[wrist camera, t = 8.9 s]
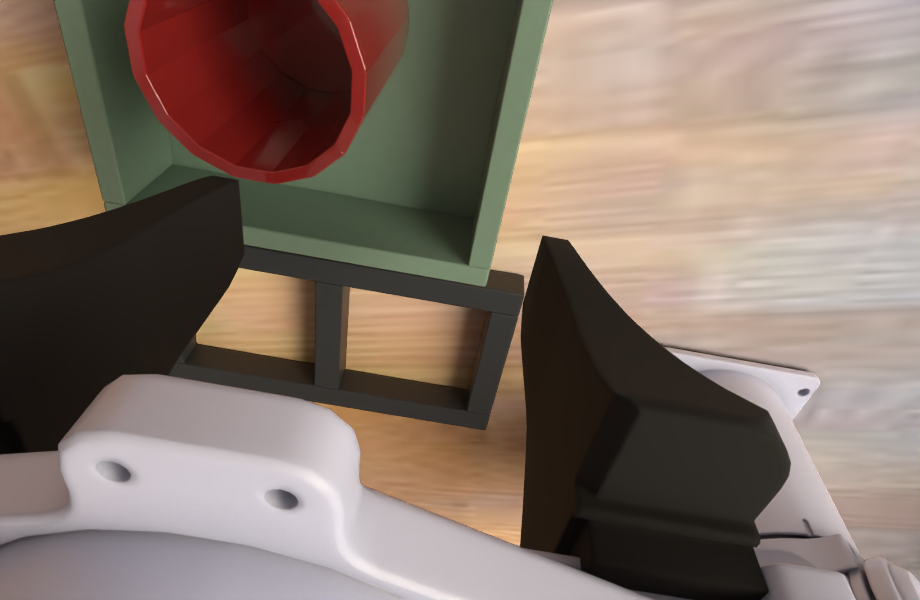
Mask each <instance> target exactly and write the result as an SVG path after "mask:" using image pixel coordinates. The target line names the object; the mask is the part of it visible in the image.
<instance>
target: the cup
mask: <svg viewBox="0 0 920 600" xmlns="http://www.w3.org/2000/svg"><path fill="white" fill-rule="evenodd" d="M124 25H125V26H124V30H125V35H126V41H127V46H128V52H129V57H130V63H131V68H132V73H133V75H134V78H135V80H136V82H137V84H138V86H139V87H140V89H141V91H142V93H143V95H144V96H145V98H146V100H147V102H148V104H149V106H150V107H151V109H152V111H153V113H154V115H155V116H156V118H157V119H159V120H158V121H159V122H160V123H161V124H162V125H163V126H164V127H165V128H166V129H167V130H168V131H169V132H170V133H171V134H172V135H173V136H174V137H175V138H176V139H177V140H178V141H179V142H180V143H181V144H182V145H183V146H184V147H185V148H186V149H187V150H188V151H189V152H190V153H191V154H193V155H194V156H195V157H197V158H199V159H201V160H203V161H205V162H207V163H208V164H210V165H212V166H214V167H216V168H218V169H220V170H221V171H223V172H225V173H227V174H229V175H231V176H234V177H236V178H242V179H247V180H253V181H258V182H264V183H269V184H281V183H286V182H291V181H296V180H301V179H306V178H311V177H314V176H316V175H318V174H319V173H320V172H322V171H323V170H324V169H326V168H327V167H328V166H330V165H331V164H333V163H334V162H335V161H337V160H338V159H339V158H341V157H342V156H343V155H344V154H345V153H346V152H347V150H348V149H349V147H350V145H351V144H352V142H353V140H354V139H355V137H356V135H357V134H358V132H359V130H360V129H361V127H362V125H363V123H364V122H365V120H366V118H367V117H368V115H369V113H370V112H371V110H372V108H373V107H374V105H375V103H376V102H377V100H378V98H379V97H380V95H381V93H382V92H383V90H384V88H385V87H386V85H387V83H388V82H389V80H390V78H391V76H392V74H393V73H394V71H395V69H396V67H397V65H398V63H399V62H400V60H401V57H402V55H403V54H404V51H405V47H406V43H407V39H408V33H409V6H408V1H407V0H129V4H128V8H127V13H126V17H125V22H124Z"/></svg>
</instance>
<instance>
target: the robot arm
mask: <svg viewBox="0 0 920 600" xmlns="http://www.w3.org/2000/svg"><path fill="white" fill-rule="evenodd" d="M244 254H245V251H244V239H243V226H242V214H241V202H240V189H239V180H236V179H230V178H225V177H219V176H214V175H212V176H208V177H204V178H200V179H197V180H194V181H191V182H188V183H186V184H183V185H180V186H177V187H175V188H172V189H169V190H167V191H164V192H161V193H159V194H156V195H153V196H150V197H148V198H145V199H142V200H140V201H137V202H134V203H131V204H128V205H125V206H122V207H118V208H115V209H112V210H109V211H106V212H103V213H100V214H97V215H94V216H90V217H87V218H83V219H79V220H76V221H72V222H67V223H63V224H59V225H55V226H51V227H46V228H41V229H36V230H30V231H24V232H19V233H13V234H7V235H1V236H0V600H920V583H919V582H918V580H917V579H916V578H915V577H914V575H913V574H912V573H911V572H910V571H908V570H906V569H904V568H902V567H900V566H897V565H895V564H891V563H890V562H889V561H888V560H887V559H885V558H883V557H874V558H870V559H867V560H864V559H863V558H862V557H861V556H860V554H859V552H858V550H857V548H856V546H855V544H854V542H853V540H852V538H851V536H850V534H849V532H848V530H847V528H846V526H845V524H844V522H843V520H842V518H841V516H840V514H839V512H838V510H837V508H836V507H835V505H834V503H833V501H832V499H831V497H830V495H829V493H828V491H827V489H826V487H825V485H824V483H823V481H822V479H821V477H820V475H819V473H818V471H817V469H816V467H815V465H814V463H813V461H812V459H811V457H810V455H809V453H808V451H807V449H806V447H805V445H804V443H803V441H802V439H801V437H800V435H799V434H798V432H797V430H796V428H795V426H794V424H793V422H792V420H793V419H794V417H795V416H796V415H797V413H798V412H799V411H800V410H801V408H802V407H803V406H804V404H805V403H806V402H807V401H808V399H809V398H810V397H811V395H812V394H813V393H814V392H815V390H816V389H817V388H818V387H819V385H820V380H819V378H818V376H817V375H816V374H815V373H812V372H806V371H801V370H795V369H789V368H783V367H778V366H772V365H766V364H760V363H755V362H749V361H743V360H737V359H732V358H726V357H720V356H714V355H709V354H703V353H697V352H692V351H686V350H680V349H674V348H669V347H663V346H662V345H660V344H659V343H658V342H657V341H655V340H654V339H653V338H652V337H651V336H650V335H649V334H647V333H646V332H645V331H644V330H643V329H642V328H641V327H640V326H639V325H638V324H636V323H635V322H634V321H633V320H632V319H631V318H630V317H629V316H628V315H627V314H626V313H625V312H624V311H623V309H622V308H621V307H620V306H619V305H618V304H617V303H616V302H615V301H614V300H613V298H612V297H611V296H610V295H609V294H608V293H607V291H606V290H605V289H604V288H603V286H602V285H601V284H600V283H599V281H598V280H597V279H596V278H595V276H594V275H593V274H592V272H591V271H590V270H589V268H588V267H587V266H586V264H585V263H584V261H583V260H582V259H581V257H580V256H579V254H578V253H577V252H576V250H575V249H574V247H573V246H572V245H571V243H570V242H569V241H568V240H564V239H559V238H553V237H548V236H542V239H541V243H540V246H539V250H538V253H537V257H536V260H535V263H534V267H533V270H532V274H531V277H530V281H529V284H528V288H527V291H526V295H525V298H524V302H523V310H522V324H521V349H522V363H523V376H524V389H525V402H526V420H527V433H526V459H525V479H524V498H523V513H522V527H521V542H520V547H519V546H517V545H514V544H512V543H509V542H506V541H504V540H501V539H499V538H496V537H494V536H491V535H489V534H486V533H484V532H481V531H478V530H476V529H473V528H471V527H468V526H466V525H463V524H461V523H458V522H456V521H453V520H450V519H448V518H445V517H443V516H440V515H438V514H435V513H433V512H430V511H428V510H425V509H422V508H420V507H417V506H415V505H412V504H410V503H407V502H405V501H402V500H400V499H397V498H394V497H392V496H389V495H387V494H384V493H382V492H379V491H377V490H374V489H372V488H369V487H366V486H364V485H362V484H361V483H360V478H359V464H360V453H361V451H360V448H359V444H358V441H357V438H356V435H355V432H354V430H353V429H352V428H351V427H350V426H349V425H348V424H347V423H346V422H344V421H343V420H342V419H341V418H340V417H339V416H338V415H336V414H335V413H334V412H333V411H332V410H331V409H329V408H326V407H323V406H321V405H318V404H315V403H312V402H309V401H306V400H304V399H300V398H295V397H289V396H283V395H277V394H271V393H265V392H259V391H254V390H248V389H242V388H236V387H230V386H224V385H219V384H213V383H207V382H201V381H195V380H189V379H183V378H178V377H172V376H169V374H170V372H171V370H172V368H173V367H174V365H175V363H176V362H177V360H178V359H179V357H180V356H181V354H182V352H183V351H184V350H185V348H186V347H187V345H188V344H189V343H190V341H191V340H192V338H193V337H194V336H195V334H196V333H197V331H198V330H199V329H200V327H201V326H202V324H203V323H204V322H205V320H206V319H207V317H208V316H209V315H210V313H211V312H212V310H213V309H214V307H215V306H216V305H217V303H218V302H219V300H220V299H221V297H222V296H223V295H224V293H225V292H226V290H227V289H228V287H229V286H230V284H231V282H232V280H233V278H234V276H235V274H236V272H237V270H238V267H239V265H240V263H241V261H242V259H243V257H244ZM801 389H802V390H801Z"/></svg>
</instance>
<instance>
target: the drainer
mask: <svg viewBox="0 0 920 600" xmlns="http://www.w3.org/2000/svg"><path fill="white" fill-rule="evenodd" d="M244 251H245V254H244V257H243V259H242V261H241V263H240V265H239V267H238V268H244V269H249V270H255V271H261V272H267V273H272V274H278V275H284V276H290V277H295V278H301V279H307V280H312V281H316V282H315V364H310V363H304V362H299V361H293V360H287V359H281V358H275V357H269V356H263V355H257V354H251V353H245V352H239V351H234V350H228V349H222V348H216V347H210V346H204V345H198V344H197V342H196V336H194V337H193V338H192V340H191V341H190V343H189V344H188V345H187V347H186V348H185V350H184V351H183V352H182V354H181V356H180V357H179V359H178V360H177V362H176V363H175V365H174V367H173V368H172V370H171V372H170V374H169V376H172V377H178V378H183V379H189V380H195V381H201V382H207V383H213V384H219V385H224V386H230V387H236V388H242V389H248V390H254V391H259V392H265V393H271V394H277V395H283V396H289V397H295V398H300V399H304V400H306V401H312V402H318V403H324V404H330V405H336V406H342V407H348V408H354V409H360V410H366V411H372V412H378V413H384V414H390V415H396V416H402V417H408V418H414V419H420V420H426V421H432V422H438V423H444V424H450V425H456V426H462V427H468V428H474V429H480V430H486V427H487V424H488V420H489V417H490V413H491V410H492V406H493V403H494V399H495V396H496V392H497V389H498V385H499V382H500V378H501V375H502V372H503V368H504V365H505V361H506V358H507V354H508V351H509V347H510V344H511V340H512V337H513V334H514V330H515V327H516V323H517V320H518V315H519V313H520V309H521V306H522V302H523V299H524V276H522V275H516V274H511V273H505V272H500V271H494V270H490V271H489V276H488V280H487V284H486V286H484V287H483V286H477V285H471V284H466V283H460V282H454V281H449V280H443V279H437V278H432V277H426V276H420V275H415V274H409V273H403V272H398V271H392V270H386V269H381V268H375V267H369V266H364V265H358V264H352V263H346V262H341V261H335V260H329V259H324V258H318V257H312V256H307V255H301V254H295V253H290V252H284V251H278V250H273V249H267V248H261V247H256V246H250V245H244ZM350 287H352V288H358V289H364V290H370V291H375V292H381V293H387V294H393V295H398V296H404V297H410V298H415V299H421V300H427V301H433V302H438V303H444V304H450V305H456V306H461V307H467V308H473V309H478V310H484V311H488V312H487V316H486V320H485V324H484V328H483V332H482V336H481V340H480V344H479V348H478V353H477V357H476V361H475V365H474V369H473V373H472V377H471V381H470V385H469V389H468V390H464V389H458V388H452V387H446V386H440V385H434V384H429V383H423V382H417V381H411V380H405V379H399V378H393V377H387V376H381V375H375V374H369V373H364V372H358V371H352V370H346V369H345V367H346V348H347V329H348V311H349V292H350Z"/></svg>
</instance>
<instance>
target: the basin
mask: <svg viewBox="0 0 920 600" xmlns="http://www.w3.org/2000/svg"><path fill="white" fill-rule="evenodd" d="M407 1H408V6H409V33H408V39H407V43H406V47H405V51H404V54H403V55H402V57H401V60H400V62H399V63H398V65H397V67H396V69H395V71H394V73H393V74H392V76H391V78H390V80H389V82H388V83H387V85H386V87H385V88H384V90H383V92H382V93H381V95H380V97H379V98H378V100H377V102H376V103H375V105H374V107H373V108H372V110H371V112H370V113H369V115H368V117H367V118H366V120H365V122H364V123H363V125H362V127H361V129H360V130H359V132H358V134H357V135H356V137H355V139H354V140H353V142H352V144H351V145H350V147H349V149H348V150H347V152H346V153H345V154H344V155H343V156H342V157H341V158H339V159H338V160H337V161H335V162H334V163H333V164H331V165H330V166H328V167H327V168H326V169H324V170H323V171H322V172H320V173H319V174H318V175H316V176H314V177H311V178H306V179H301V180H296V181H291V182H286V183H281V184H269V183H264V182H258V181H253V180H247V179H242V178H236V177H234V176H231V175H229V174H227V173H225V172H223V171H221V170H220V169H218V168H216V167H214V166H212V165H210V164H208V163H207V162H205V161H203V160H201V159H199V158H197V157H195V156H194V155H193V154H191V153H190V152H189V151H188V150H187V149H186V148H185V147H184V146H183V145H182V144H181V143H180V142H179V141H178V140H177V139H176V138H175V137H174V136H173V135H172V134H171V133H170V132H169V131H168V130H167V129H166V128H165V127H164V126H163V125H162V124H161V123H160V122H159V121H158V120H159V119H157V118H156V116H155V115H154V113H153V111H152V109H151V107H150V106H149V104H148V102H147V100H146V98H145V96H144V95H143V93H142V91H141V89H140V87H139V86H138V84H137V82H136V80H135V78H134V75H133V73H132V68H131V63H130V57H129V52H128V46H127V41H126V35H125V30H124V26H125V25H124V22H125V17H126V13H127V8H128V4H129V0H54V4H55V8H56V12H57V16H58V20H59V24H60V28H61V32H62V36H63V40H64V44H65V48H66V52H67V56H68V61H69V65H70V69H71V73H72V77H73V81H74V85H75V89H76V93H77V97H78V101H79V105H80V109H81V113H82V117H83V121H84V125H85V129H86V134H87V138H88V142H89V146H90V150H91V154H92V158H93V162H94V166H95V170H96V174H97V178H98V182H99V186H100V190H101V194H102V198H103V200H104V201H105V202H104V205H105V209H106V211H109V210H112V209H115V208H118V207H122V206H125V205H128V204H131V203H134V202H137V201H140V200H142V199H145V198H148V197H150V196H153V195H156V194H159V193H161V192H164V191H167V190H169V189H172V188H175V187H177V186H180V185H183V184H186V183H188V182H191V181H194V180H197V179H200V178H204V177H208V176H212V175H214V176H219V177H225V178H230V179H236V180H239V189H240V202H241V214H242V226H243V239H244V245H250V246H256V247H261V248H267V249H273V250H278V251H284V252H290V253H295V254H301V255H307V256H312V257H318V258H324V259H329V260H335V261H341V262H346V263H352V264H358V265H364V266H369V267H375V268H381V269H386V270H392V271H398V272H403V273H409V274H415V275H420V276H426V277H432V278H437V279H443V280H449V281H454V282H460V283H466V284H471V285H477V286H483V287H484V286H486V284H487V280H488V276H489V271H490V267H491V263H492V259H493V255H494V250H495V246H496V242H497V238H498V233H499V229H500V225H501V221H502V216H503V212H504V208H505V204H506V199H507V195H508V191H509V186H510V182H511V178H512V174H513V169H514V165H515V161H516V157H517V152H518V148H519V144H520V140H521V135H522V131H523V127H524V123H525V118H526V114H527V110H528V106H529V101H530V97H531V93H532V88H533V84H534V80H535V76H536V71H537V67H538V63H539V59H540V54H541V50H542V46H543V42H544V37H545V33H546V29H547V25H548V20H549V16H550V12H551V8H552V3H553V0H407Z"/></svg>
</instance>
